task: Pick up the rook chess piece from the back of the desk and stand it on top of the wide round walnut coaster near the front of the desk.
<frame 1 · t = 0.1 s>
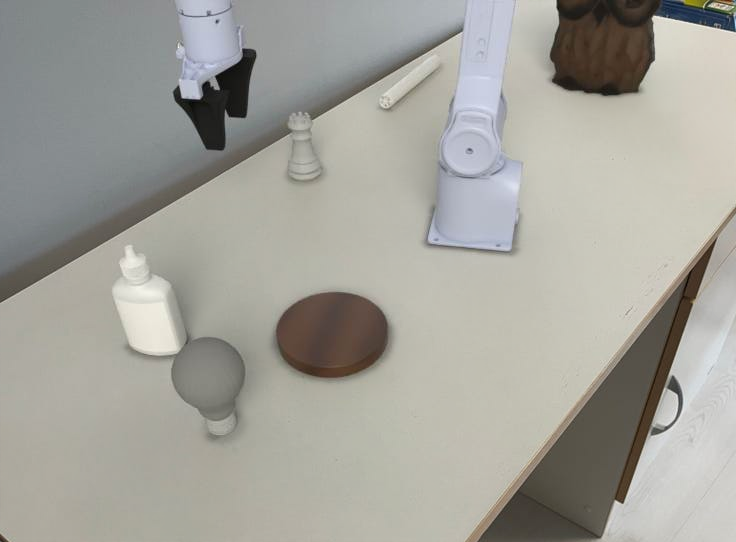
hand: (227, 132, 82), 10 cm above the table, tool pointing down, fingers open, 7 cm apart
cream white rod: (413, 86, 112), on the table
owl: (599, 80, 111), on the table
rook chess piece: (305, 175, 94), on the table
eye dropper bottle: (160, 346, 72), on the table
light bulb: (223, 428, 64), on the table
walnut coaster: (332, 338, 72), on the table
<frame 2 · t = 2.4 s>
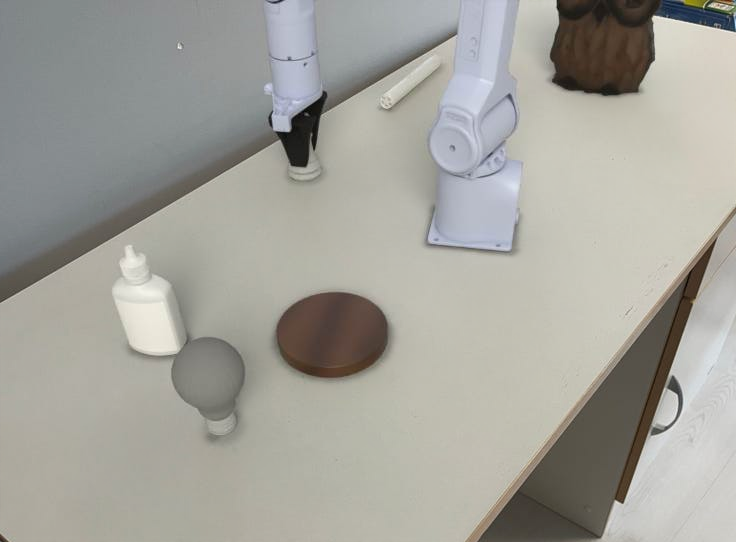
hand: (303, 157, 92), 2 cm above the table, tool pointing down, fingers closed on rook chess piece, 3 cm apart
rook chess piece: (305, 175, 94), on the table, touching gripper
everything else where it was.
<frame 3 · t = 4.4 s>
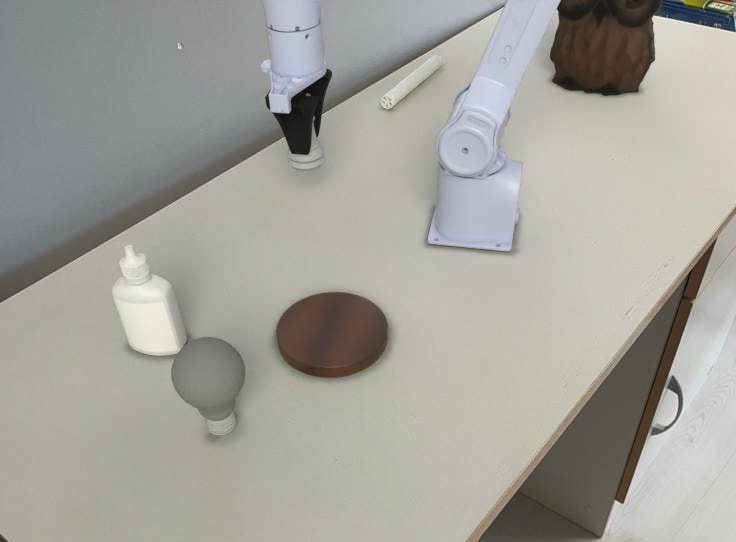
hand: (305, 144, 83), 8 cm above the table, tool pointing down, fingers closed on rook chess piece, 3 cm apart
rook chess piece: (306, 164, 85), point 6 cm above the table, touching gripper
everything else where it was.
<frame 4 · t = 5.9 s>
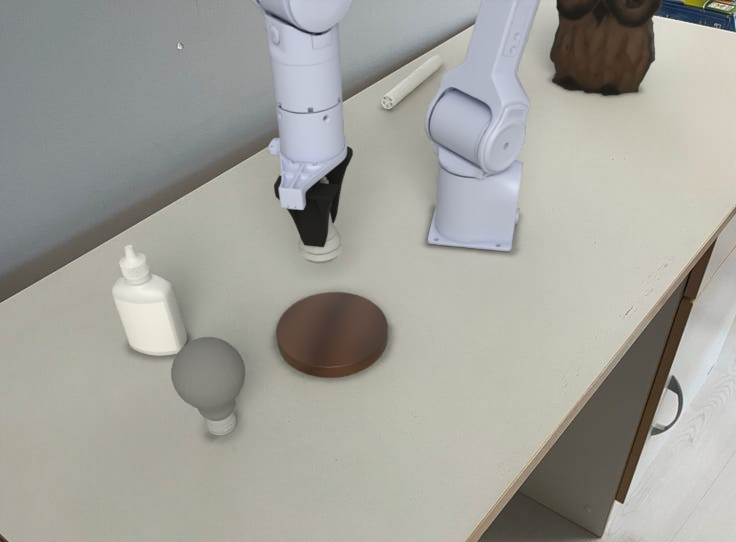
hand: (319, 232, 70), 8 cm above the table, tool pointing down, fingers closed on rook chess piece, 3 cm apart
rook chess piece: (320, 253, 72), point 6 cm above the table, touching gripper
everything else where it was.
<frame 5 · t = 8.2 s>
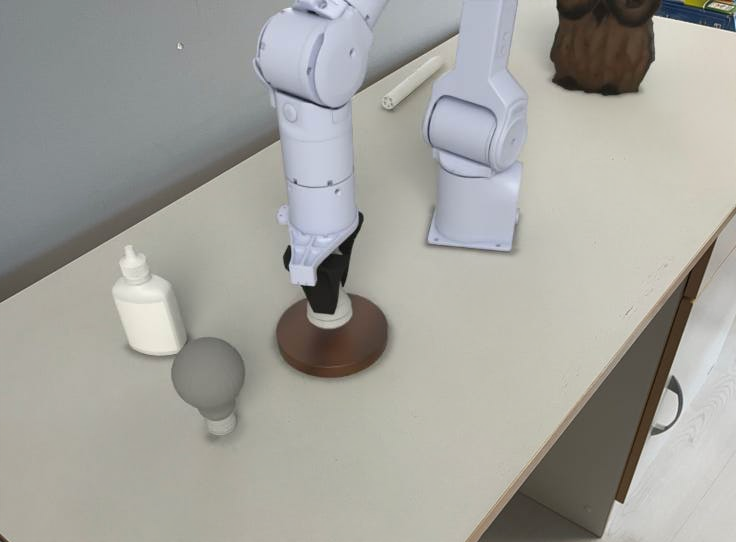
hand: (329, 297, 68), 5 cm above the table, tool pointing down, fingers closed on rook chess piece, 3 cm apart
rook chess piece: (330, 317, 70), point 3 cm above the table, touching gripper
everything else where it was.
when the fingers open (4 cm above the table, at t = 9.8 s): rook chess piece stays where it is, resting on walnut coaster.
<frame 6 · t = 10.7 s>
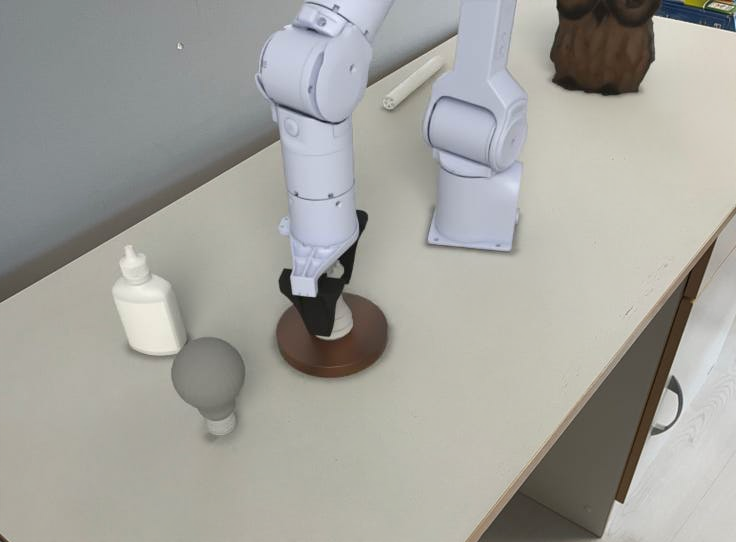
hand: (330, 306, 69), 4 cm above the table, tool pointing down, fingers open, 7 cm apart
rook chess piece: (331, 328, 71), point 1 cm above the table, touching walnut coaster
walnut coaster: (332, 338, 72), on the table, touching rook chess piece
everything else where it was.
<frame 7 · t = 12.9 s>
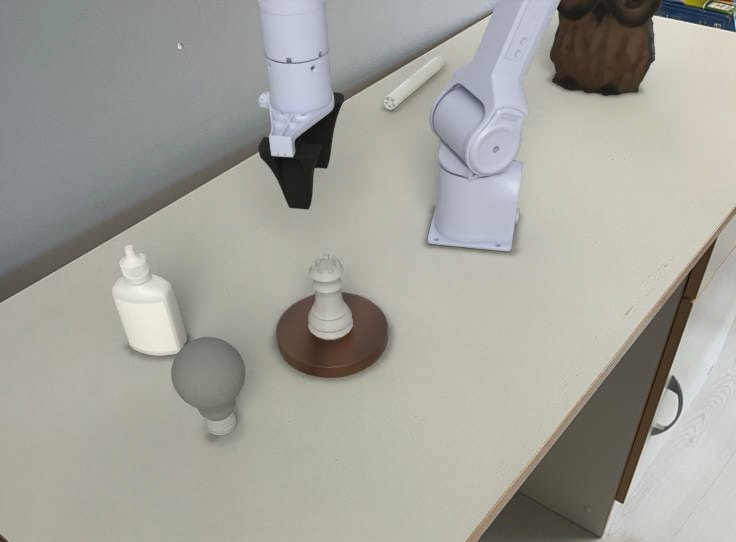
hand: (309, 186, 72), 10 cm above the table, tool pointing down, fingers open, 7 cm apart
nothing on the table moved.
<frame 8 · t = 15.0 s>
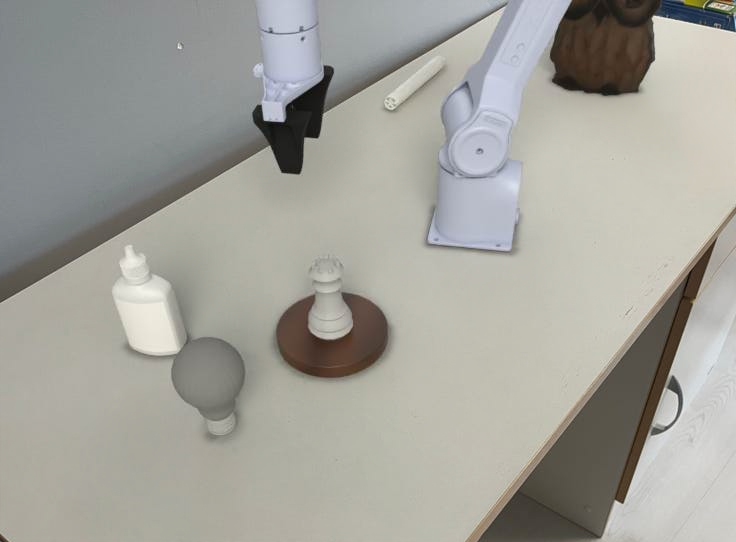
hand: (301, 153, 77), 10 cm above the table, tool pointing down, fingers open, 7 cm apart
nothing on the table moved.
at the end: rook chess piece 0.1 cm off-centre on the walnut coaster, point 1.3 cm above the walnut coaster's base; rook chess piece tilted 0° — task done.
